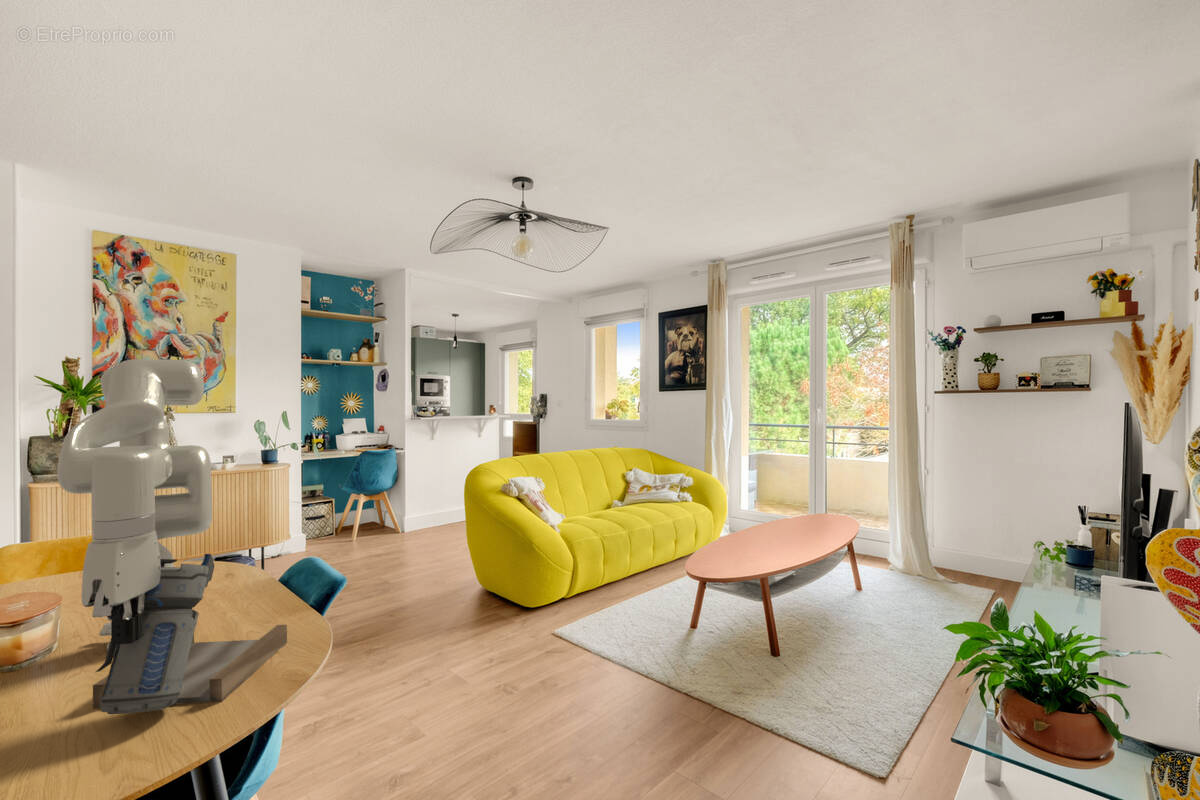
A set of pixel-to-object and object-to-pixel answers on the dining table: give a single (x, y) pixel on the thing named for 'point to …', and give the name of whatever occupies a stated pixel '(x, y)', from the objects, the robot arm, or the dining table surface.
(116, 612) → the robot arm
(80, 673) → the dining table surface
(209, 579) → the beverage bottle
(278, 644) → the u rest
